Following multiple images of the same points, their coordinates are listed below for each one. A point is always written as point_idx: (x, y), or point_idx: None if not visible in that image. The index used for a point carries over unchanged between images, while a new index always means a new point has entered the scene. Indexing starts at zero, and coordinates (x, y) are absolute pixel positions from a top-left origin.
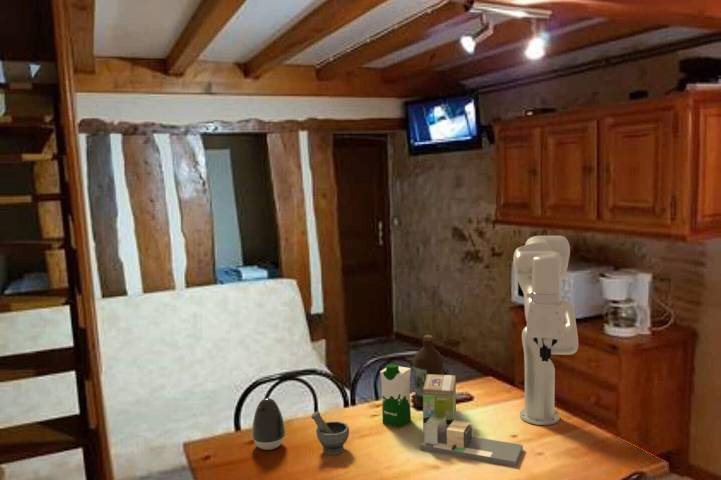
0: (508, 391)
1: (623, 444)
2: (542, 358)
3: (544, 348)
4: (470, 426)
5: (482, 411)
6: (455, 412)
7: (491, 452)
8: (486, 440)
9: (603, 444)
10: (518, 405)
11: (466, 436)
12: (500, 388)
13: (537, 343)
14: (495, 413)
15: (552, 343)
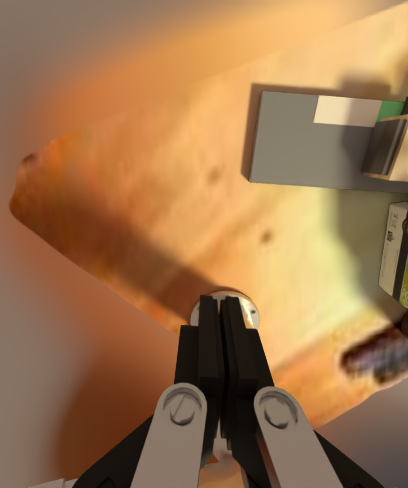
0: None
1: (75, 259)
2: (236, 306)
3: (230, 382)
4: (385, 167)
5: (325, 316)
6: (390, 278)
7: (316, 120)
8: (325, 179)
9: (107, 249)
10: None
11: (393, 120)
12: None
13: (318, 442)
14: (301, 315)
15: (139, 458)
